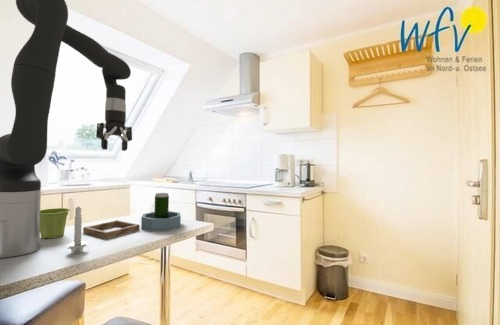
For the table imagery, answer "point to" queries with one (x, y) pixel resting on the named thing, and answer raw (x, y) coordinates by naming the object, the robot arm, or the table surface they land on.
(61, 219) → the plant pot
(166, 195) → the beer can
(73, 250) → the screw
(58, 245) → the table surface
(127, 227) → the walnut frame
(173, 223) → the slate bowl
